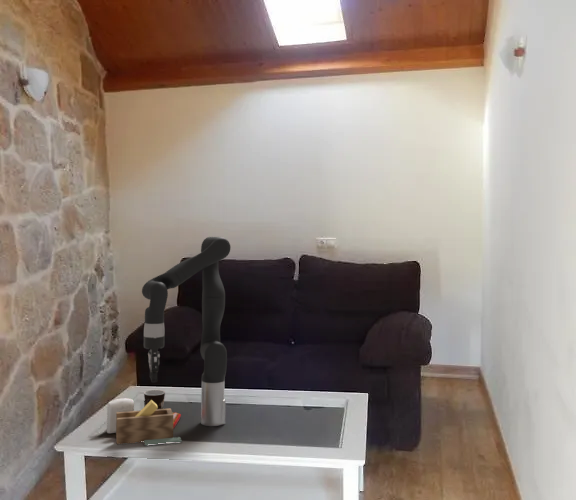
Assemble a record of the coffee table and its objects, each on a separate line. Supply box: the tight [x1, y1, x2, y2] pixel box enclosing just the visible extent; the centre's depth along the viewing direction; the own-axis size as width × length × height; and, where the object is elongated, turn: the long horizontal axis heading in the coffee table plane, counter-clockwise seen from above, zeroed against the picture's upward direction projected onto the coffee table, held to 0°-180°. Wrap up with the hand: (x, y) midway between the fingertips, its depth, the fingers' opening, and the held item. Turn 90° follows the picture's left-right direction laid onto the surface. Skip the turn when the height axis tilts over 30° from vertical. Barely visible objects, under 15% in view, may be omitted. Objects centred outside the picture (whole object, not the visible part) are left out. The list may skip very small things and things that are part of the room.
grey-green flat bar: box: [143, 436, 183, 446], centre depth 208 cm, size 13×4×1 cm, turn 108°
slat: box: [135, 400, 158, 417], centre depth 212 cm, size 14×4×3 cm
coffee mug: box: [143, 389, 166, 409], centre depth 237 cm, size 12×9×10 cm
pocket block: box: [115, 407, 174, 445], centre depth 212 cm, size 20×9×9 cm, turn 108°
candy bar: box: [172, 412, 182, 430], centre depth 229 cm, size 16×4×3 cm, turn 0°
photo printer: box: [106, 397, 135, 434], centre depth 219 cm, size 10×4×12 cm, turn 123°
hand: (153, 380), depth 213 cm, fingers open, 4 cm apart
